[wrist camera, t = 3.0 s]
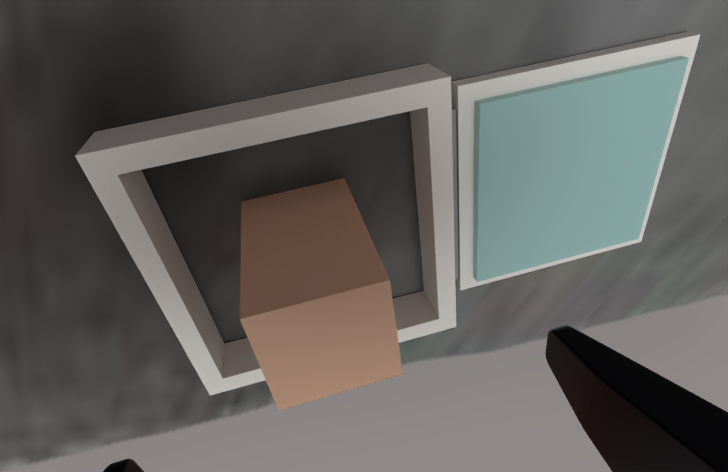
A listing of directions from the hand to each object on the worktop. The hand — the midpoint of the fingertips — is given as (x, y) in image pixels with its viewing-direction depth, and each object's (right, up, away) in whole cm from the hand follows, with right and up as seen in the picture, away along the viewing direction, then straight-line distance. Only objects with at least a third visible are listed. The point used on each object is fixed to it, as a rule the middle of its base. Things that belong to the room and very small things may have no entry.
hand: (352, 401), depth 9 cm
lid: (+11, +7, +14) cm, 19 cm away
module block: (-3, +4, +13) cm, 14 cm away
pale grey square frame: (-3, +4, +13) cm, 14 cm away
